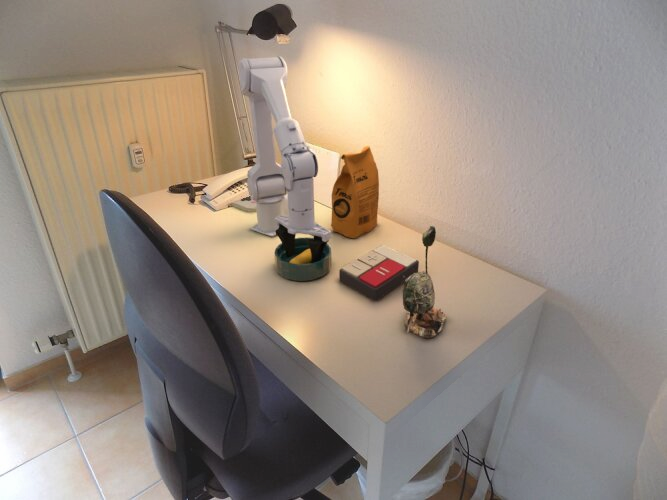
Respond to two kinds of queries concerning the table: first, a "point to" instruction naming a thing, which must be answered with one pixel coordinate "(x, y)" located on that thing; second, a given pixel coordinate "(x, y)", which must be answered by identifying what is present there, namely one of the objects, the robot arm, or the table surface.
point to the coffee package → (356, 195)
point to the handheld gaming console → (245, 204)
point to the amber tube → (302, 258)
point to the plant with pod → (422, 298)
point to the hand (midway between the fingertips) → (303, 259)
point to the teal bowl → (301, 270)
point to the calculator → (378, 271)
